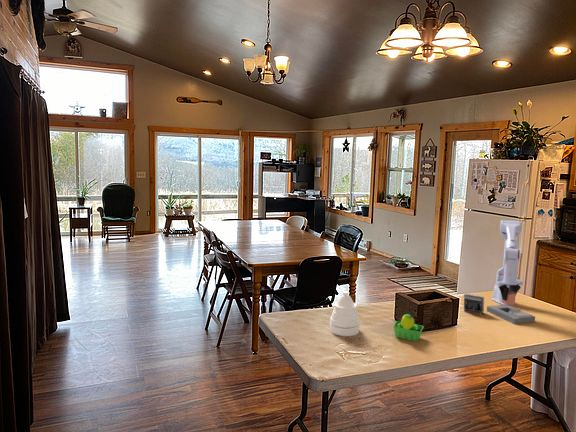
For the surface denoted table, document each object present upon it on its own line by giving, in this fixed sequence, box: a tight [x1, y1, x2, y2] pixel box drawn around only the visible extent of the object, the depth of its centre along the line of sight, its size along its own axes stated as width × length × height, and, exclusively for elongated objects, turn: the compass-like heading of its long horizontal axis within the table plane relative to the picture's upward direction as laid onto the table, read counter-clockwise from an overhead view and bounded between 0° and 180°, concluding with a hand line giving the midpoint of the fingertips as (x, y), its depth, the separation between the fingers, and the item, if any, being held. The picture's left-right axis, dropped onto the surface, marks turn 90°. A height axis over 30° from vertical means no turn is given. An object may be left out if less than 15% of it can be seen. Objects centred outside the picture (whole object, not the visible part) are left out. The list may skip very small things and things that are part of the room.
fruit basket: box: [392, 313, 424, 342], centre depth 185 cm, size 11×9×11 cm
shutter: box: [509, 307, 531, 318], centre depth 208 cm, size 6×6×2 cm
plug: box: [502, 290, 517, 306], centre depth 214 cm, size 4×4×7 cm
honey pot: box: [329, 290, 360, 337], centre depth 192 cm, size 13×13×18 cm
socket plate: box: [486, 304, 536, 325], centre depth 213 cm, size 18×12×2 cm, turn 16°
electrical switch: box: [463, 292, 485, 315], centre depth 218 cm, size 9×5×9 cm, turn 57°
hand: (508, 299), depth 214 cm, fingers closed on plug, 4 cm apart
